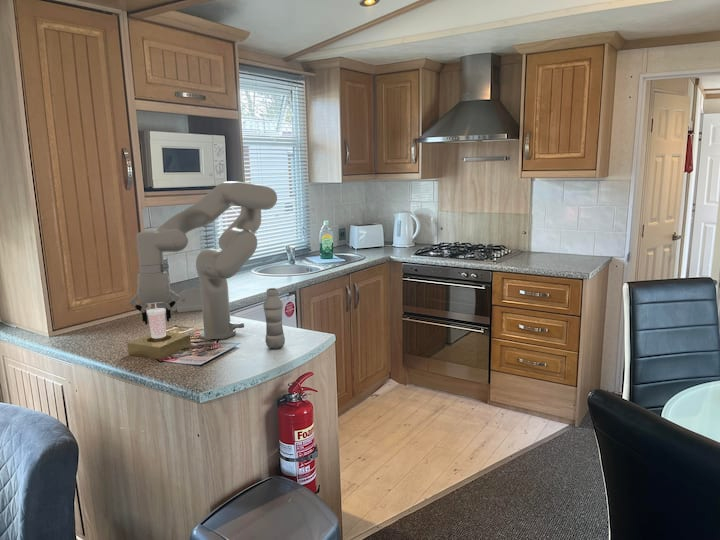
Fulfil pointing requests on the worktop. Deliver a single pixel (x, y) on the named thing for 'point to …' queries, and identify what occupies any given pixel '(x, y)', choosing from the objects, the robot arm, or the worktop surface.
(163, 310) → the beverage cup
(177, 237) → the robot arm
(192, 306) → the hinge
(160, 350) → the block
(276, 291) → the plastic bottle
